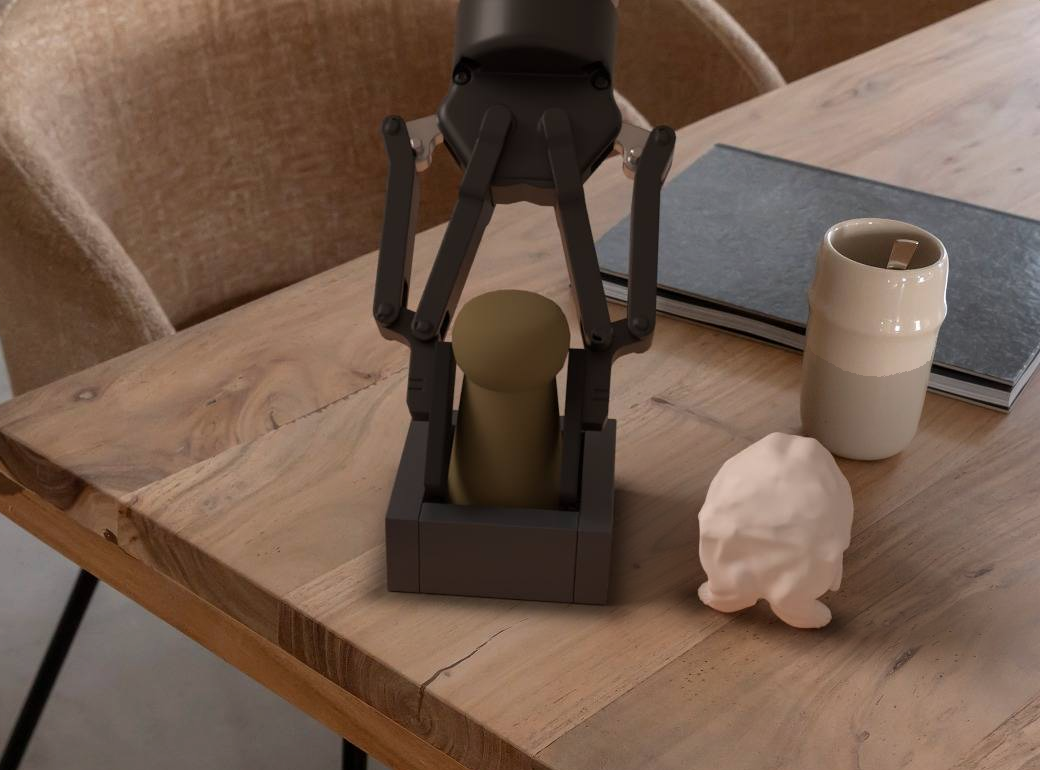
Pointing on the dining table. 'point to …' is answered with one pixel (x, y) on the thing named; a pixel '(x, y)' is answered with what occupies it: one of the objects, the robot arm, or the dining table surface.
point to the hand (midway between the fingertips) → (500, 495)
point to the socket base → (502, 533)
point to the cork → (508, 402)
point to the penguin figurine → (776, 530)
